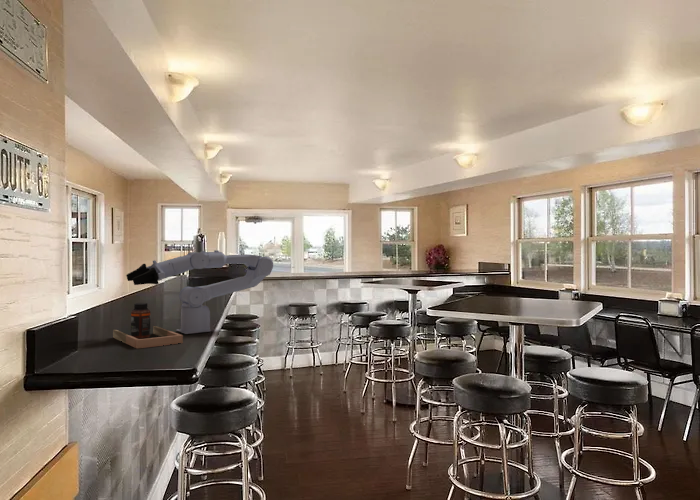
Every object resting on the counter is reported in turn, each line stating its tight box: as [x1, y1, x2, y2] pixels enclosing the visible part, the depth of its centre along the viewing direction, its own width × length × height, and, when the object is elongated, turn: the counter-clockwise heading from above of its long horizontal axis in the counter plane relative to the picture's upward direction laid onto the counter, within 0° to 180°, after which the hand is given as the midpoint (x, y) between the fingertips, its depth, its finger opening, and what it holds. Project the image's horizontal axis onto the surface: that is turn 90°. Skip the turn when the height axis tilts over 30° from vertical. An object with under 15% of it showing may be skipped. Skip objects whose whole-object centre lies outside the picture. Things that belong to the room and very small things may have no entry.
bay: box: [112, 325, 184, 350], centre depth 164 cm, size 14×22×2 cm, turn 42°
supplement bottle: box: [130, 302, 151, 339], centre depth 168 cm, size 6×6×11 cm
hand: (130, 279), depth 168 cm, fingers open, 7 cm apart
